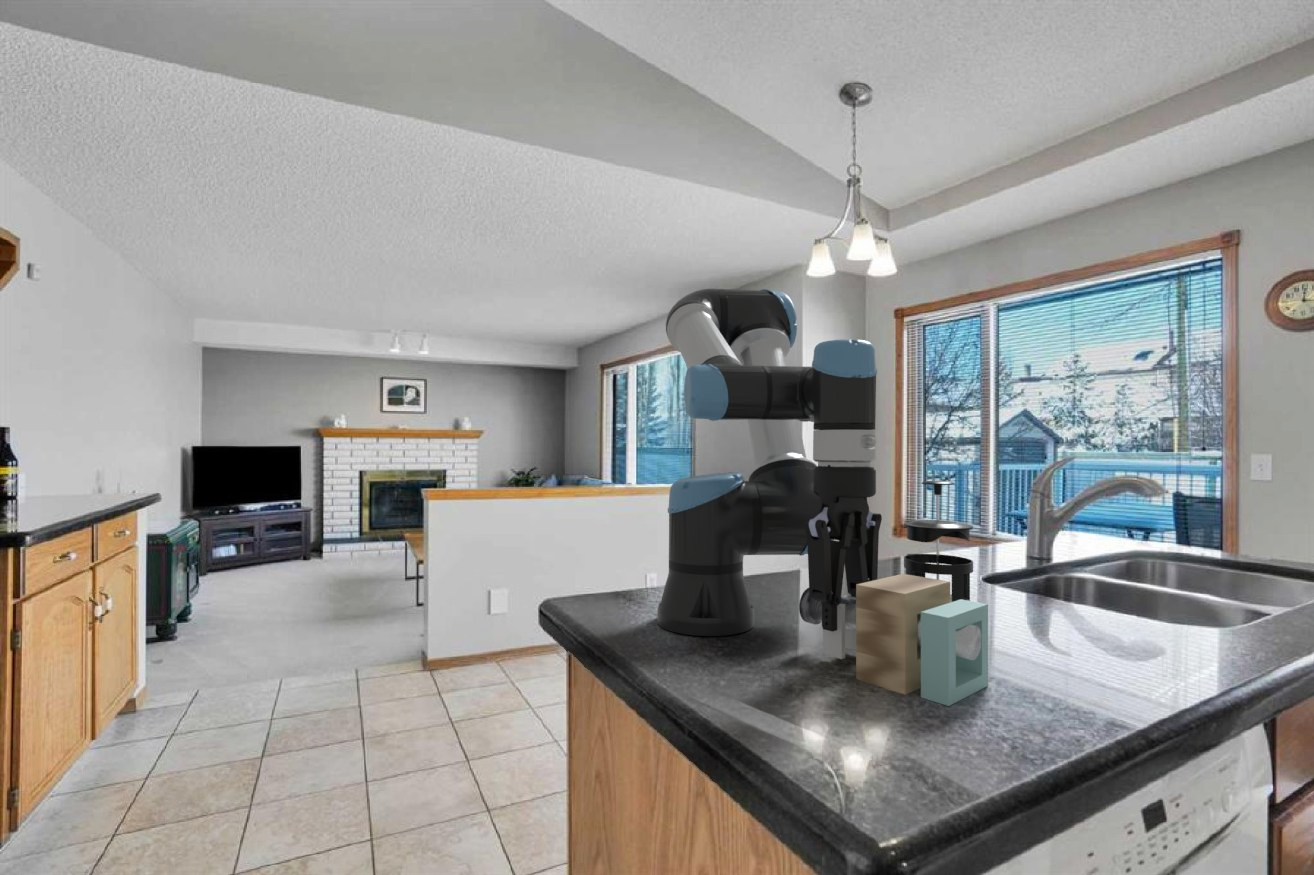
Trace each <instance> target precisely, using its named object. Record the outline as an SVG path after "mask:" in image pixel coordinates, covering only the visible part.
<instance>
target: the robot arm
mask: <svg viewBox="0 0 1314 875" xmlns="http://www.w3.org/2000/svg"><path fill="white" fill-rule="evenodd" d="M795 308H796V307H795V306H794V303H793V301H792V299H791V298H790V296H789V295H787V294H786V293H785V292H782V291H780V290H779V291H778V290H770V289H768V288H766V289H764V288H763V289H760V290H757V289H756V290H755V289H730V288H702V289H699V290H695V291H693V292H691V293H688V294H687V295H685V296H683V297H682V298H680V299H679V300H678V301H677V302H675V304H674V305H673V306H672V307H671V309H670V310H669V312H668V314H667V317H666V320H665V332H666V335H667V339H668V341H669V344H670V345H671V346H672V347H673V348H674V350H676V351H677V352H679V353H680V354H681V357H682V359H683V361H684V363H685V366H686V368H687V370H686V372H685V378H684V387H683V388H684V392H683V393H684V395H683V397H684V398H683V399H684V401H683V402H684V405H685V406H684V407H685V411H686V414H687V415H688V416H689V417H690V418H693V419H698V420H699V419H700V420H709V421H712V422H715V421H725V420H726V421H727V420H728V421H737V420H741V421H745V420H746V421H747V424H748V430H749V434H750V435H749V436H750V441H751V442H750V443H751V448H752V453H753V460H754V466H755V467H754V469H753V470H752V471H750V474H749V475H748V481H747V480H745V477H744V476H743V475H744V474H743V473H742V472H739V471H733V472H732V471H729V472H717V473H716V472H715V473H710V474H709V473H708V474H702V475H695V476H689V477H688V476H687V477H684V478H680V479H678V480H676V481H674V482H673V484H671V486H670V489H669V497H668V508H667V513H668V574H667V578H666V581H665V584H664V588H663V591H662V597H661V600H660V603H658V606H657V611H656V613H657V616H656V617H657V618H656V620H657V625H658V626H660V627H661V628H662V629H663V630H666V631H669V632H672V633H677V634H681V635H686V636H687V635H689V636H696V637H697V636H698V637H699V636H701V637H719V636H720V637H722V636H730V635H731V636H732V635H736V634H741V633H745V632H748V631H750V630H752V629H753V628H754V626H755V608H754V606H753V604H752V603H751V599H750V595H749V590H748V587H747V584H746V580H745V577H744V556H773V555H774V556H778V555H779V556H780V555H782V556H784V555H785V556H790V555H791V556H792V555H794V556H798V555H799V557H800V556H801V557H802V556H804V555H807V562H808V563H807V567H808V570H807V571H808V588H809V595H810V598H812V599H814V600H816V601H820V602H821V604H822V622H821V628H822V655H823V654H824V655H825V656H830V657H833V658H836V659H839V660H843V659H846V649H849V650H852V651H856V631H855V630H851V629H847V628H845V604H841V603H840V602H841V597H844V598H848V599H853V600H856V584H861V583H865V582H869V581H874V580H878V572H879V571H878V569H879V539H880V537H879V536H880V535H879V533H880V528H881V524H882V519H883V518H882V514H881V513H876V512H871V511H870V506H869V503H868V498H871V497H874V496H875V495H876V494H877V477H876V476H877V472H876V471H877V469H875V467H874V466H871V463H874V462H875V461H876V444H877V439H876V418H877V417H876V414H877V412H876V411H877V410H876V408H877V404H876V403H877V400H876V399H877V374H878V368H877V366H876V350H875V347H874V345H873V343H871V342H870V341H868V340H864V339H856V338H855V339H854V338H853V339H850V338H847V339H846V338H845V339H844V338H843V339H833V340H826V341H821V342H818V343H817V344H816V345H815V347H814V348H813V357H812V358H813V359H812V362H811V366H794V365H793V366H791V365H789V366H788V365H787V362H786V357H787V355H788V354H790V353H789V352H790V349H791V348H793V346H794V345H795V342H796V337H797V333H798V332H797V330H798V325H797V322H796V321H797V320H798V319H797V312H796V309H795ZM800 422H803V423H804V422H805V423H806V422H812V423H813V426H812V428H813V435H812V436H813V438H812V439H813V441H812V443H813V445H812V448H813V449H812V460H813V461H814V462H813V461H812V460H810V459H808V458H807V454H806V449H805V446H804V445H805V444H804V440H803V437H802V436H803V435H802V431H801V427H800ZM815 462H816V463H817V464H816V463H815ZM844 571H845V572H844ZM844 573H845V574H844ZM844 575H845V579H846V587H847V594H849V595H843V596H842V592H843V583H844Z"/></svg>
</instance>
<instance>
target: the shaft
mask: <svg viewBox="0 0 1314 875" xmlns="http://www.w3.org/2000/svg"><path fill="white" fill-rule="evenodd" d="M840 603H841V604H845V628H847V629H851V630H855V631H856V600H853V599H848V598H844V597H843V596H841V602H840ZM798 605H799V606H798V608H799V609H798V610H799V614H800V618H801V619H802V620H803V622H805V623H809V624H812V625H819V624H822V604H821V602H820V601H816V600H814V599H812V598H810V595H809V587H808V588H806V589H804V591H803V592H802V594H801V597H800V600H799V604H798ZM981 643H982V637H981V631H980V629H979V627H978V626H975V625H971V624H970V625H967V626H965V627H962V628H959V629H957V630H956V656H957V657H961V658H965V659H969V660H975V659H976V658H977V656H978V655H979V652H980V649H981ZM917 646H918V647H921V614H917Z"/></svg>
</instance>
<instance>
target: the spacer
mask: <svg viewBox="0 0 1314 875" xmlns="http://www.w3.org/2000/svg"><path fill="white" fill-rule="evenodd" d="M970 624H971V625H975V626H978V627H979V629H980V631H981V637H982V643H981V649H980V652H979V655H978V656H977V658H976V659H975V660H969V659H965V658H961V657H957V656H956V630H957V629H959V628H962V627H965V626H967V625H970ZM988 686H989V604H988V603H983V602H978V601H973V600H970V601H968V600H962V599H960V600H957V601H954V602H951V603H948V604H944V605H941V606H938V607H935V608H932V609H928V610H925V611H922V612H921V688H920V698H922V699H925V700H927V701H931V702H935V703H937V704H941V705H944V706H946V707H947V706H948V707H950V706H951V705H953V704H956V703H957V702H960V701H961V700H963V699H965V698H967V697H969V696H972V695H973V694H975V693H977V692H978V691H981V690H983V689H985V688H987V687H988Z"/></svg>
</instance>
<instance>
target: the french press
mask: <svg viewBox="0 0 1314 875" xmlns="http://www.w3.org/2000/svg"><path fill="white" fill-rule="evenodd" d="M921 484H922V485H928V486H929V485H931V486H933V495H935V499H936V502H935V503H936V507H935V510H936V512H935V513H936V514H935V515H936V518H935V519H922V520H921V519H920V520H910V521H906V522H905V521H904V522H903V526H904V527H906V539H908V540H910V541H913V542H919V543H933V542H935V541H936V543H935V544H936V552H935V553H934V554H933V553H907V554H906V555H904V556H903V567H904V568H905V574H907V575H913V576H919V577H925V578H926V574H932V575H936V579H937V580H940V575H943V576H944V575H945V576H950V575H951V593H950V603H951V602H954V601H957V600H960V599H962V600H968V601H971V574H972V573H973V572H974V561H973V560H972V559H970V558H966V557H961V556H956V555H949V554H940V538H941V537H945V538H956V539H961V540H965V541H967V542H970V541H971V540H970V537H971V536H970V535H971V534H970V530H973V529H974V526H973V525H971V524H968V523H963V522H957V521H953V520H941V519H940V496H941V495H942V486H953V485H955V483H954V482H952V481H949V480H926V481H923V482H921Z"/></svg>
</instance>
